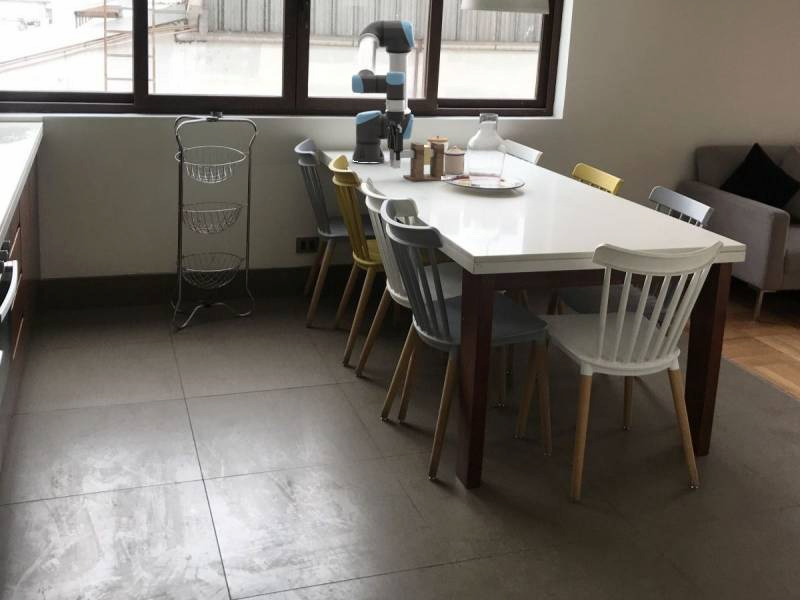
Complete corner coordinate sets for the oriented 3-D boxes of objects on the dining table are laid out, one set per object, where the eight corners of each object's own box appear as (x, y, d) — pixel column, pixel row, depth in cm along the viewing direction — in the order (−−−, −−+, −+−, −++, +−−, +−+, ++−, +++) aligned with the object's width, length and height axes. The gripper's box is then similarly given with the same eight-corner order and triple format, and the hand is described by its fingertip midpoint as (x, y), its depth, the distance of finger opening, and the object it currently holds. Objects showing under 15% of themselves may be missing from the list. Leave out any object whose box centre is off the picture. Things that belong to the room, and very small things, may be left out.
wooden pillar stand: (403, 177, 406) (403, 142, 401) (439, 175, 411) (440, 140, 407) (413, 182, 395) (413, 145, 391) (450, 180, 401) (451, 144, 396)
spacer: (417, 162, 403) (417, 144, 401) (424, 162, 404) (424, 144, 402) (423, 165, 397) (423, 147, 395) (430, 164, 398) (430, 146, 396)
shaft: (389, 158, 397) (389, 148, 396) (434, 157, 404) (434, 146, 403) (393, 160, 393) (393, 149, 392) (438, 158, 400) (438, 148, 399)
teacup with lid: (467, 173, 417) (468, 147, 414) (449, 175, 414) (449, 148, 410) (456, 169, 428) (456, 143, 424) (437, 170, 424) (438, 144, 421)
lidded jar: (441, 156, 467) (441, 137, 464) (422, 154, 473) (423, 135, 470) (452, 154, 476) (452, 135, 473) (434, 152, 481) (434, 133, 479)
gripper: (379, 108, 397) (379, 164, 403) (394, 112, 381) (393, 170, 388) (396, 108, 399) (396, 163, 406) (411, 112, 383) (410, 169, 390)
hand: (394, 167), depth 397 cm, fingers closed on shaft, 4 cm apart
